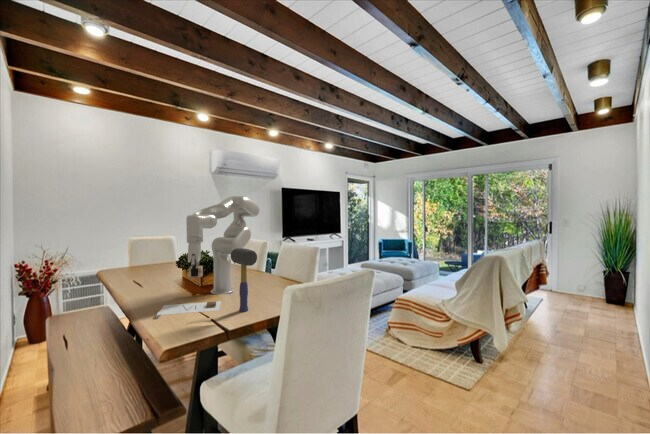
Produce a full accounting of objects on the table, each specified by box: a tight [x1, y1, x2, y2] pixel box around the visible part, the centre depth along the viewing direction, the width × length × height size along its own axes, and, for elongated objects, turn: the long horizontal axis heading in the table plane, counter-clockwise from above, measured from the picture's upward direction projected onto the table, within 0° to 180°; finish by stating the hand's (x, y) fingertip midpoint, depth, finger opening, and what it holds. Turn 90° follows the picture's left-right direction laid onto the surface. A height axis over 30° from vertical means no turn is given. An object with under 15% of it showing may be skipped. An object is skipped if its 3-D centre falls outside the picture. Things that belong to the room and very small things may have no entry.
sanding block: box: [187, 265, 204, 279], centre depth 153 cm, size 5×6×5 cm
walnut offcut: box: [206, 301, 217, 308], centre depth 144 cm, size 4×4×2 cm
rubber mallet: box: [230, 248, 258, 313], centre depth 138 cm, size 12×8×30 cm, turn 48°
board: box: [155, 300, 222, 319], centre depth 142 cm, size 14×26×2 cm, turn 105°
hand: (195, 274), depth 153 cm, fingers closed on sanding block, 5 cm apart
